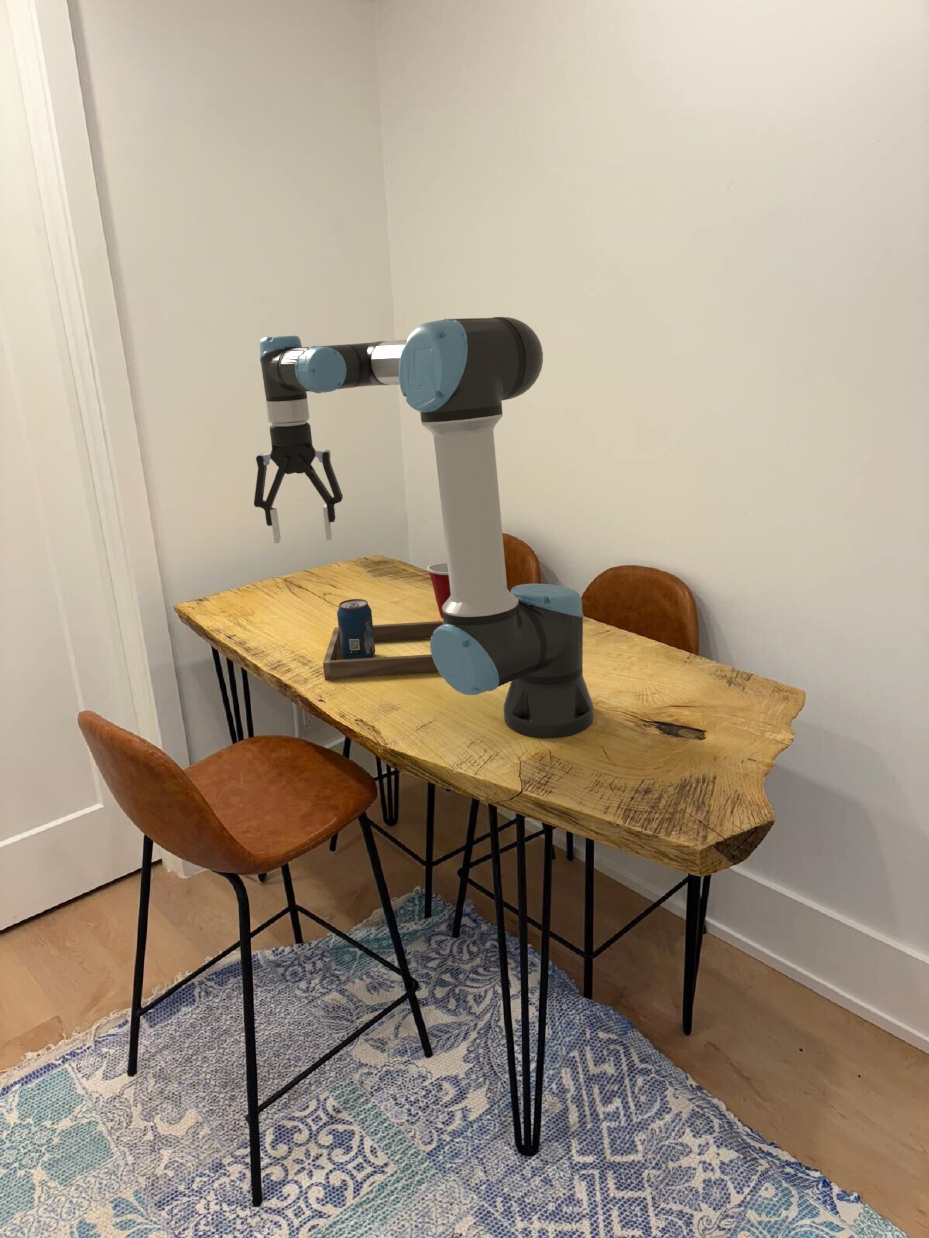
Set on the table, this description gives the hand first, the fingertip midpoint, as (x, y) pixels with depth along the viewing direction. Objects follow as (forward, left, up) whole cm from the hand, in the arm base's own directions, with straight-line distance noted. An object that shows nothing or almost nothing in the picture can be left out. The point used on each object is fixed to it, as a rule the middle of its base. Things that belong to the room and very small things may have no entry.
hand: (303, 540), depth 163 cm
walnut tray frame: (0, -15, -26) cm, 30 cm away
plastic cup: (+23, -29, -26) cm, 45 cm away
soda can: (0, -9, -26) cm, 27 cm away
